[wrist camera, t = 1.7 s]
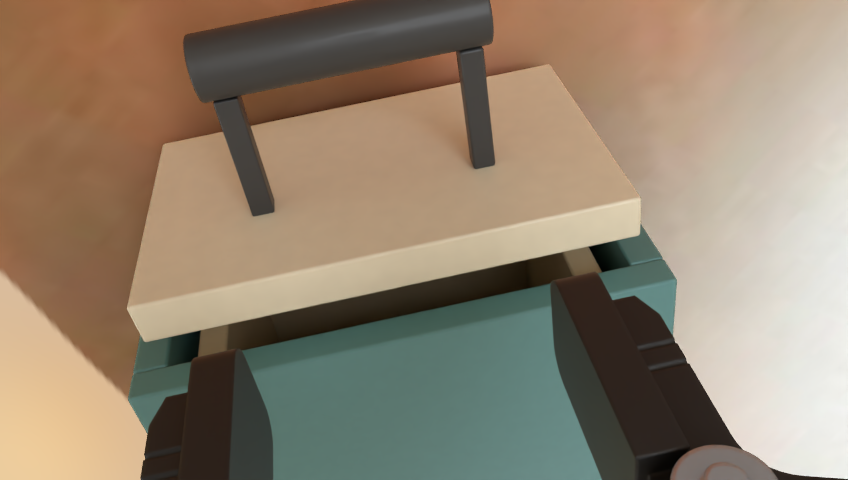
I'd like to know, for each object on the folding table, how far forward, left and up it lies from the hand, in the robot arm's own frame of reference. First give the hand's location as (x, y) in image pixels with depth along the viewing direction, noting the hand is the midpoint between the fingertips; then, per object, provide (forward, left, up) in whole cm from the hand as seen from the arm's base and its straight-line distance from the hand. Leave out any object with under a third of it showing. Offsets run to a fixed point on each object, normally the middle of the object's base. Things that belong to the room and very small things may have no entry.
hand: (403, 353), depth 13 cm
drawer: (+6, 0, -13) cm, 15 cm away
